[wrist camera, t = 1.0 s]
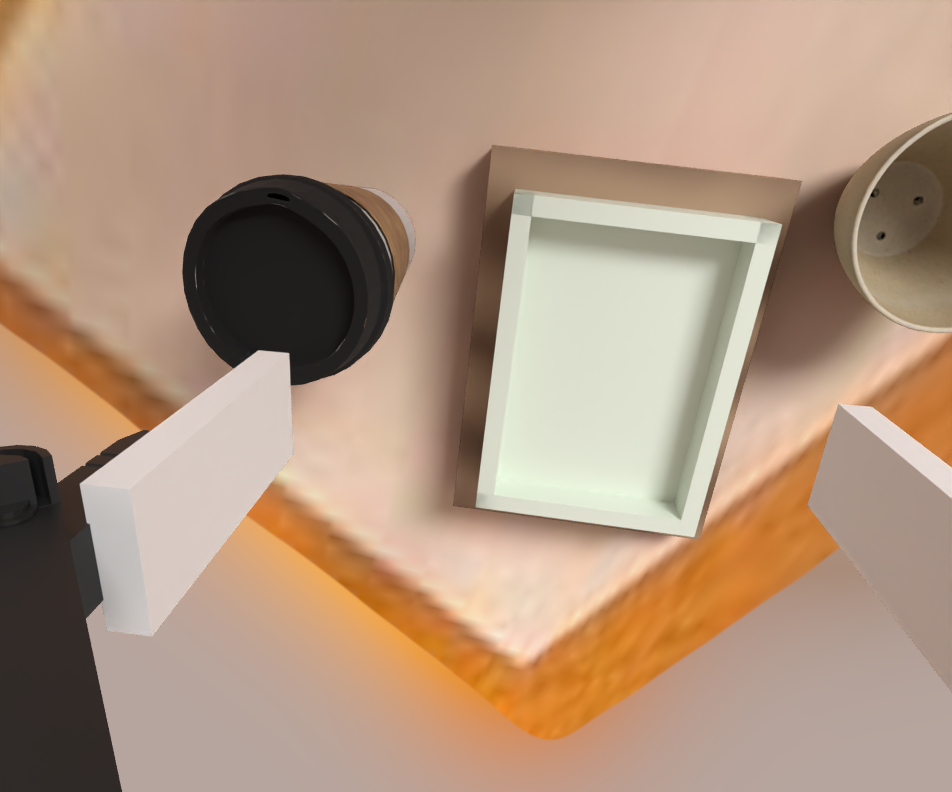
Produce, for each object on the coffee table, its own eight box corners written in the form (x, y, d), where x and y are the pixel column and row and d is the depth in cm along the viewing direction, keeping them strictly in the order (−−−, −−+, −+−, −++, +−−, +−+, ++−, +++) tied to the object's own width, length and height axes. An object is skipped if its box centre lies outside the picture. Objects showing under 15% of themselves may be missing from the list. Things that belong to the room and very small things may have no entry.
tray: (515, 188, 34) (514, 193, 31) (761, 217, 33) (782, 224, 30) (479, 482, 41) (475, 507, 38) (683, 509, 40) (694, 537, 37)
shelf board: (494, 145, 35) (492, 145, 33) (783, 178, 35) (801, 181, 32) (457, 486, 44) (453, 505, 41) (690, 518, 43) (699, 539, 41)
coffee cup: (448, 180, 36) (395, 204, 22) (424, 321, 40) (364, 417, 26) (304, 150, 36) (164, 154, 22) (292, 292, 40) (162, 373, 26)
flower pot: (781, 301, 37) (834, 335, 31) (807, 115, 34) (874, 109, 27) (962, 297, 36) (1058, 332, 30) (1009, 106, 33) (1131, 97, 26)
